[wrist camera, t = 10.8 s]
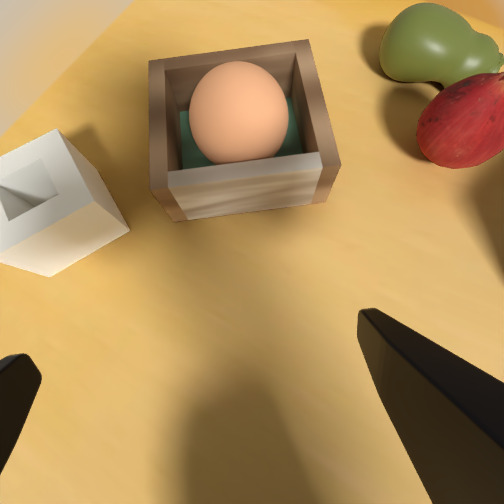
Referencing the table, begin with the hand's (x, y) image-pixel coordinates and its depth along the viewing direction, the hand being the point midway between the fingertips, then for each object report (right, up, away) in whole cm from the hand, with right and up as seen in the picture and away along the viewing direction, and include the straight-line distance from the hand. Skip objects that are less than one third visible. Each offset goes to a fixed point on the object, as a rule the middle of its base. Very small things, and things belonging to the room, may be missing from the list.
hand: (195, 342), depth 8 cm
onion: (+17, +10, +16) cm, 25 cm away
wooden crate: (+1, +11, +17) cm, 20 cm away
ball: (+1, +11, +16) cm, 20 cm away
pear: (+18, +19, +19) cm, 32 cm away
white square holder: (-13, +5, +16) cm, 21 cm away
